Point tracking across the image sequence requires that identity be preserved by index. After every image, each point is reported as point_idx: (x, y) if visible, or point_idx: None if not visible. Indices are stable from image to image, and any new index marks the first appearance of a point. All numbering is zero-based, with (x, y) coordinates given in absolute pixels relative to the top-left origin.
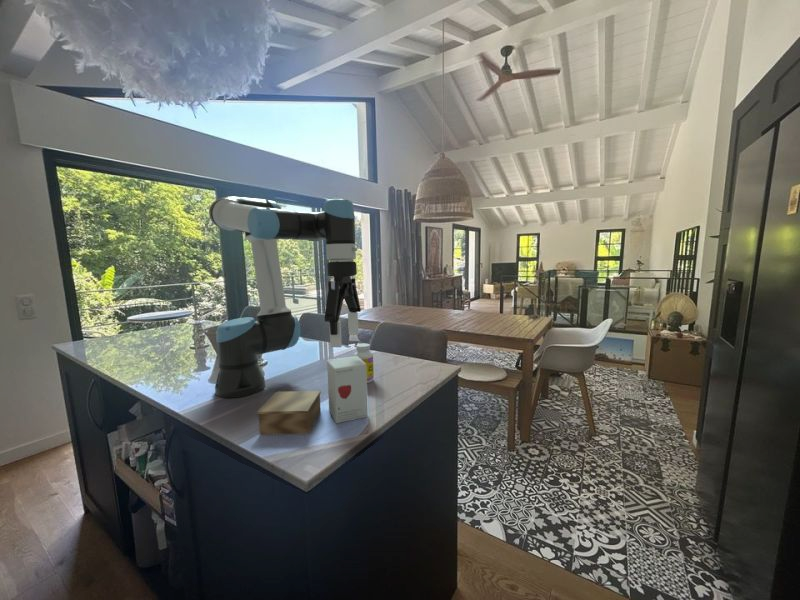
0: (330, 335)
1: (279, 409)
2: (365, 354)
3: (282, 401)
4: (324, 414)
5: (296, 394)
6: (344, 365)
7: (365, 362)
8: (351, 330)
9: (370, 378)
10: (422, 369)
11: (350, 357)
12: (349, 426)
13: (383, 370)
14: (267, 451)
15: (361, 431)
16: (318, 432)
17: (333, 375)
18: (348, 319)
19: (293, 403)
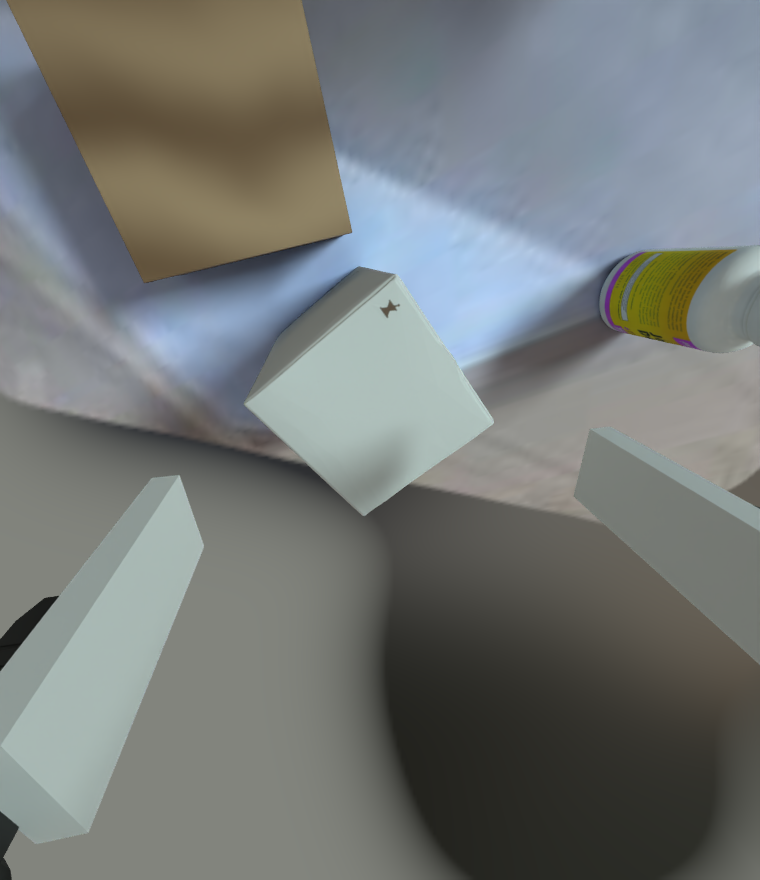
0: (96, 559)
1: (87, 116)
2: (715, 330)
3: (172, 68)
4: (326, 262)
5: (280, 108)
6: (305, 437)
7: (670, 326)
8: (612, 472)
9: (618, 329)
10: (699, 457)
11: (454, 405)
12: None
13: None
14: (10, 180)
15: (259, 428)
16: (204, 305)
17: (261, 378)
18: (729, 518)
19: (179, 159)
